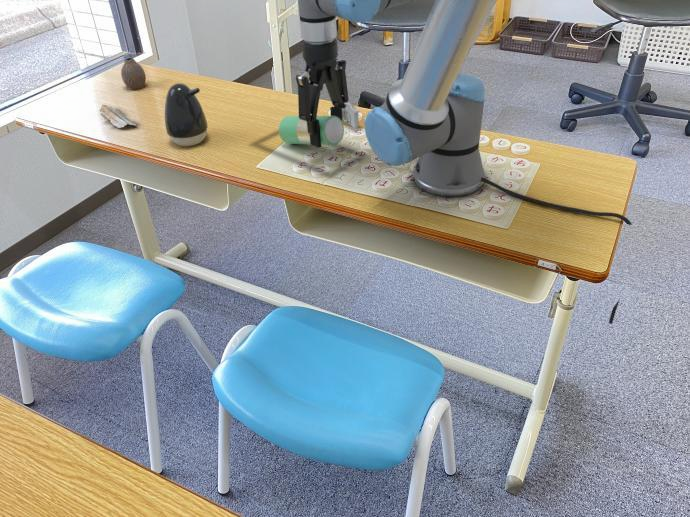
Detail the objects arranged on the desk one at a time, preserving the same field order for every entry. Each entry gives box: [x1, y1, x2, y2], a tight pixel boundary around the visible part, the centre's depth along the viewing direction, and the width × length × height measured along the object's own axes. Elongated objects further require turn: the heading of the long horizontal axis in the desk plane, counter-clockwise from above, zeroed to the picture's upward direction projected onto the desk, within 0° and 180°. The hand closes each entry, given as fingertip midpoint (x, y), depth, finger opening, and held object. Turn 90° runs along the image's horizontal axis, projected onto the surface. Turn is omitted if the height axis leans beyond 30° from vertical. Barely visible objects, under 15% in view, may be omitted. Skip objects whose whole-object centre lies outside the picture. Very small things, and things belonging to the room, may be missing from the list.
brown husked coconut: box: [120, 57, 147, 90], centre depth 179 cm, size 7×7×9 cm
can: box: [278, 115, 345, 146], centre depth 140 cm, size 16×7×7 cm, turn 49°
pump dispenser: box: [164, 82, 209, 147], centre depth 145 cm, size 10×10×15 cm
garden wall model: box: [342, 101, 361, 129], centre depth 154 cm, size 12×2×6 cm, turn 28°
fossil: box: [98, 104, 137, 129], centre depth 163 cm, size 18×3×4 cm
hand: (326, 139), depth 137 cm, fingers closed on can, 7 cm apart
